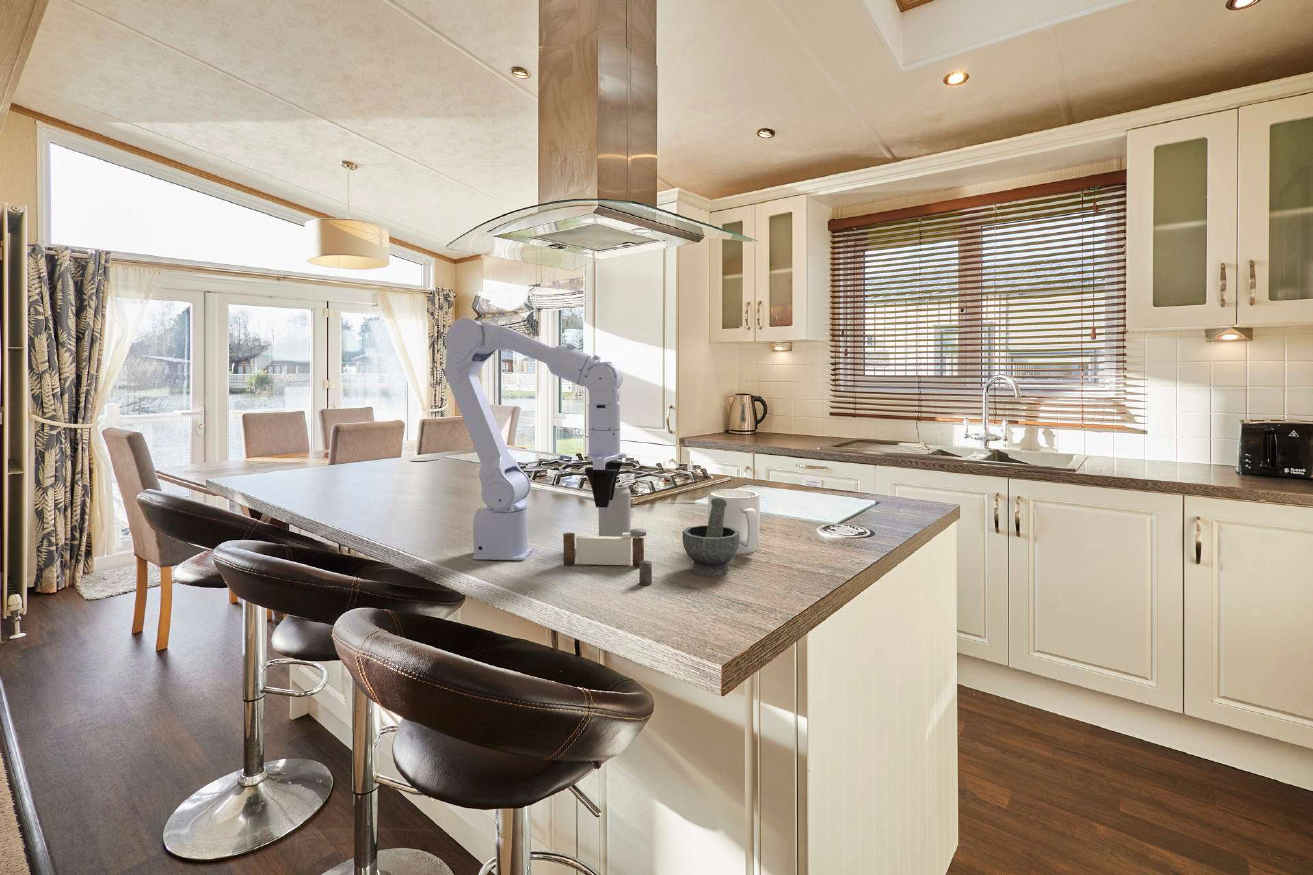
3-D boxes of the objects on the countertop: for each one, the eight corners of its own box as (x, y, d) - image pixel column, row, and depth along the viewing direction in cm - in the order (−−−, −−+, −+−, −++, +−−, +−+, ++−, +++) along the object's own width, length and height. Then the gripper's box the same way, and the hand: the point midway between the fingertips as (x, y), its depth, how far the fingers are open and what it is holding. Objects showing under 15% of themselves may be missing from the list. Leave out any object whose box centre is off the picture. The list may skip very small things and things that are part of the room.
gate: (646, 561, 114) (646, 528, 114) (645, 566, 112) (645, 532, 111) (578, 560, 115) (578, 527, 114) (575, 564, 112) (575, 531, 112)
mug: (778, 555, 120) (780, 499, 119) (731, 560, 116) (732, 503, 115) (742, 538, 133) (743, 487, 132) (698, 542, 129) (699, 491, 128)
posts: (550, 582, 103) (550, 549, 103) (564, 562, 115) (564, 532, 114) (651, 585, 102) (651, 552, 102) (655, 564, 114) (655, 534, 113)
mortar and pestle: (729, 581, 104) (730, 510, 103) (675, 575, 108) (676, 505, 107) (745, 563, 115) (746, 497, 114) (695, 557, 118) (696, 494, 117)
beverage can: (626, 548, 124) (626, 488, 123) (594, 546, 125) (594, 486, 124) (633, 540, 130) (633, 482, 129) (603, 538, 132) (603, 481, 130)
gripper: (622, 433, 107) (621, 512, 108) (630, 426, 122) (630, 496, 123) (580, 432, 108) (581, 511, 109) (593, 425, 122) (593, 495, 123)
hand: (604, 503), depth 116 cm, fingers open, 6 cm apart
